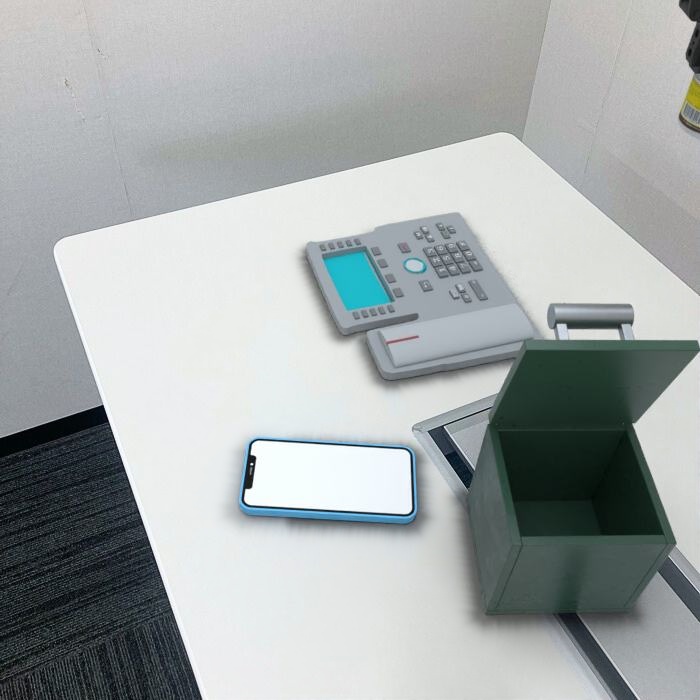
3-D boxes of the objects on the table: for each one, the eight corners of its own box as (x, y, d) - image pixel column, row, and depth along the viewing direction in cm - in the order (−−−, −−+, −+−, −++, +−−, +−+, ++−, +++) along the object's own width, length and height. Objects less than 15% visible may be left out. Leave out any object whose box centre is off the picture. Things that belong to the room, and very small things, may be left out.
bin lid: (701, 350, 48) (682, 286, 51) (526, 350, 48) (515, 285, 50) (635, 423, 58) (622, 366, 60) (489, 424, 57) (481, 366, 60)
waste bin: (628, 612, 59) (677, 543, 51) (485, 614, 58) (512, 545, 51) (594, 498, 66) (632, 422, 58) (466, 499, 66) (487, 423, 58)
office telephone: (552, 335, 77) (366, 375, 72) (546, 352, 79) (364, 392, 74) (460, 202, 91) (301, 228, 87) (456, 219, 93) (301, 246, 88)
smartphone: (417, 519, 63) (237, 508, 63) (415, 526, 64) (238, 516, 63) (414, 446, 68) (248, 436, 68) (412, 454, 69) (248, 444, 69)
